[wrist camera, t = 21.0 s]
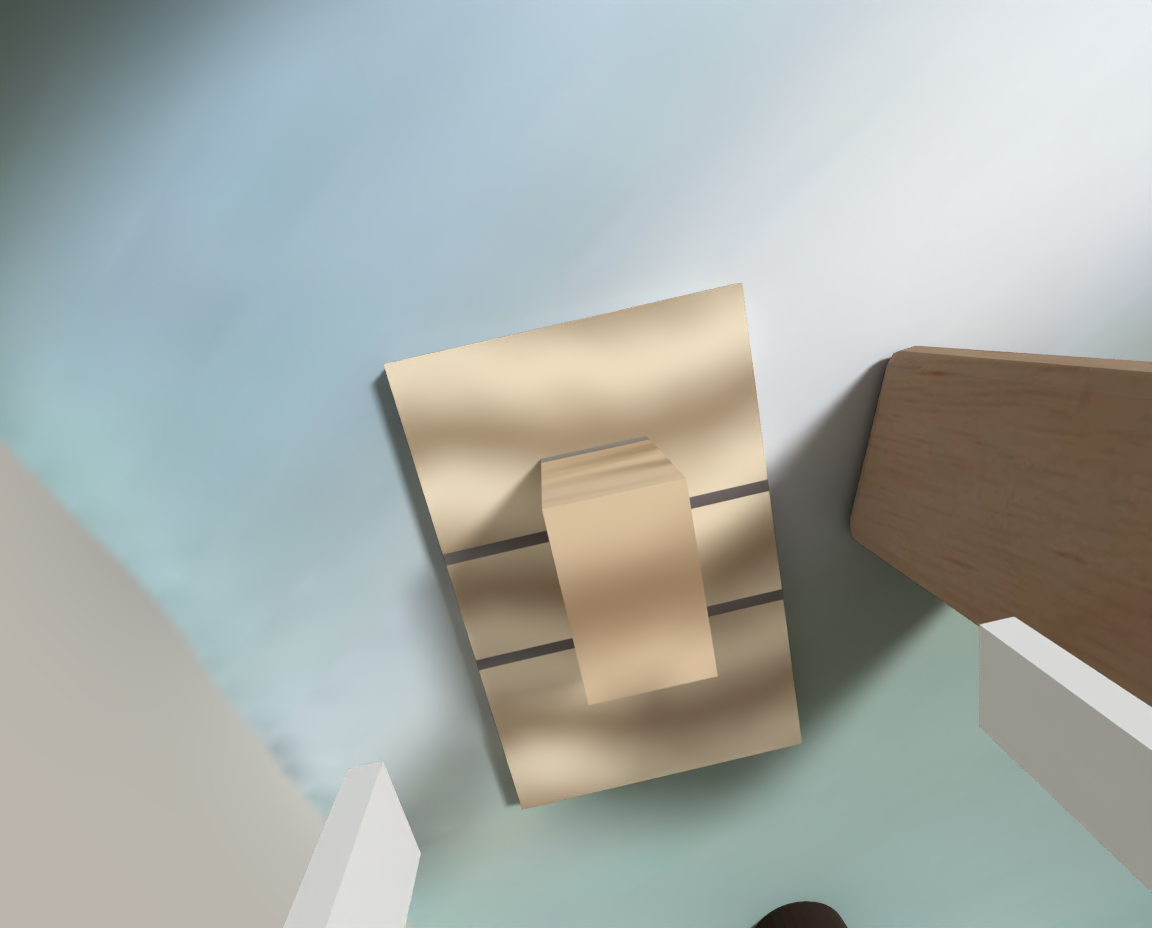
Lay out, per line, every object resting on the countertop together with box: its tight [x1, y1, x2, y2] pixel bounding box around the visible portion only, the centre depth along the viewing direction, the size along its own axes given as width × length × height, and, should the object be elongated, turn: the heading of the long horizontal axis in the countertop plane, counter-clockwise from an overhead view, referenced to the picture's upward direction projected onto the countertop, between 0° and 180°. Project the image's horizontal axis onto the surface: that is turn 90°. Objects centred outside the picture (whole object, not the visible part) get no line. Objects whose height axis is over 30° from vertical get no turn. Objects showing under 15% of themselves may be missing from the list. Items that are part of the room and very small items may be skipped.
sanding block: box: [541, 436, 718, 705], centre depth 23 cm, size 8×5×7 cm, turn 12°
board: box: [384, 283, 802, 809], centre depth 28 cm, size 25×16×1 cm, turn 13°
